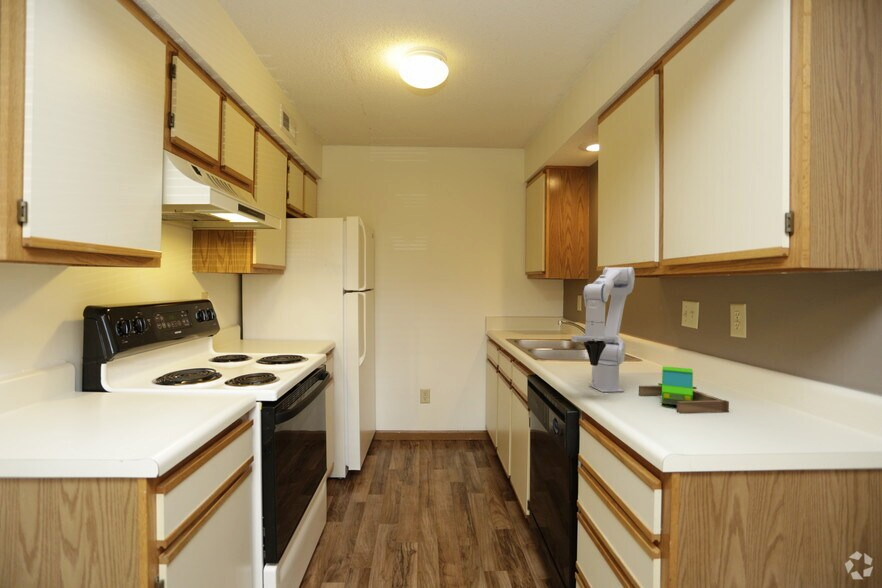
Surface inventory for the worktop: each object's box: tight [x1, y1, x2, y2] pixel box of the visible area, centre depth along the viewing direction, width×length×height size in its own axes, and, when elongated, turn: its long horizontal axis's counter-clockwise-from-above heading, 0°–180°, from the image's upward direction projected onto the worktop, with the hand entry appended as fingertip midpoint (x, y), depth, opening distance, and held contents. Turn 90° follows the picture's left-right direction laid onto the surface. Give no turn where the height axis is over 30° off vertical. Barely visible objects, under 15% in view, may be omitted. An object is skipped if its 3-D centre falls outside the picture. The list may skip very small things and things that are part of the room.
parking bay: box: [638, 385, 730, 414], centre depth 132 cm, size 20×15×3 cm
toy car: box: [657, 365, 697, 406], centre depth 131 cm, size 10×13×10 cm
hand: (593, 365), depth 136 cm, fingers closed
